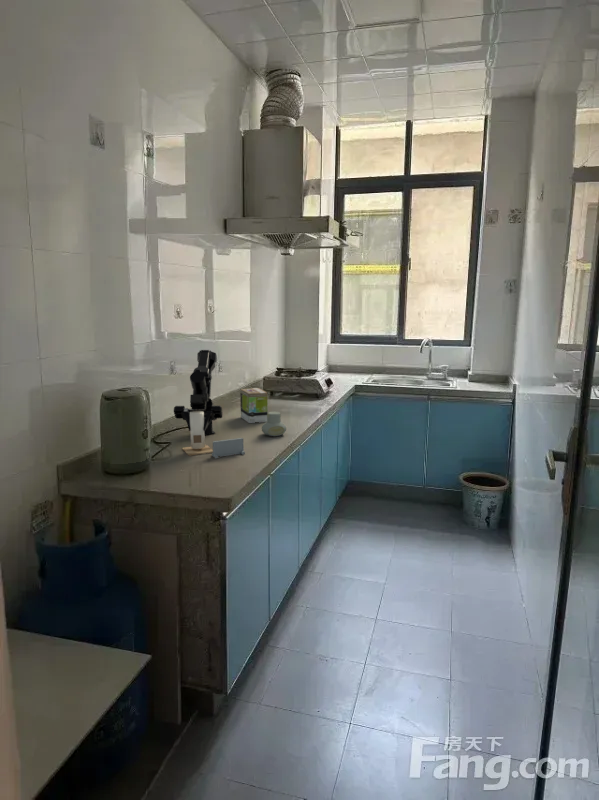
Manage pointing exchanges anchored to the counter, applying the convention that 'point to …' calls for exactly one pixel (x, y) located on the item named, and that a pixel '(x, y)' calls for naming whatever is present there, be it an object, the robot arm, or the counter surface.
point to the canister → (197, 429)
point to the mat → (197, 450)
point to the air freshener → (273, 425)
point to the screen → (228, 447)
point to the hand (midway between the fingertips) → (196, 430)
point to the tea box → (254, 405)
